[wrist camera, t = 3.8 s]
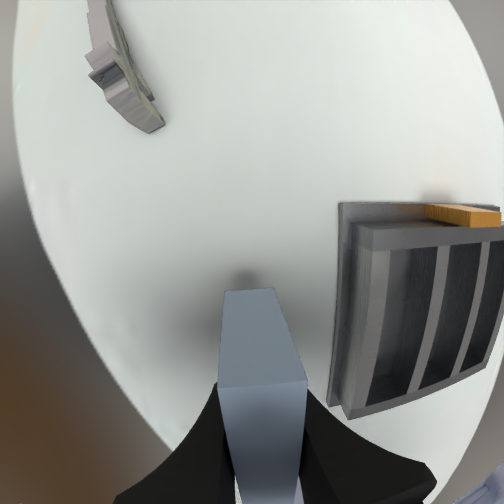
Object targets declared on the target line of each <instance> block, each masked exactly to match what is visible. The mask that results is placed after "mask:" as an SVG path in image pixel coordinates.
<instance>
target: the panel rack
mask: <svg viewBox="0 0 504 504" xmlns="http://www.w3.org/2000/svg"><path fill="white" fill-rule="evenodd" d="M503 315H504V221H501V212H500V207H497V206H485V205H466V204H440V203H339V266H338V291H337V308H336V322H335V335H334V345H333V355H332V364H331V373H330V381H329V388H328V395H327V404H328V407H333V406H338V405H341V407H342V409H343V411H344V413H345V415H346V417H347V419H348V420H352V419H356V418H360V417H363V416H367V415H371V414H374V413H378V412H381V411H384V410H387V409H391V408H394V407H397V406H400V405H403V404H405V403H408V402H411V401H414V400H416V399H419V398H422V397H424V396H427V395H429V394H432V393H434V392H436V391H439V390H441V389H443V388H446V387H448V386H450V385H452V384H455V383H457V382H459V381H461V380H463V379H465V378H467V377H469V376H471V375H473V374H475V373H477V372H479V371H480V370H482V369H484V368H486V365H487V363H488V360H489V357H490V355H491V352H492V349H493V347H494V344H495V341H496V338H497V335H498V332H499V328H500V325H501V322H502V318H503Z"/></svg>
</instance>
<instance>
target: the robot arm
mask: <svg viewBox="0 0 504 504" xmlns="http://www.w3.org/2000/svg"><path fill="white" fill-rule="evenodd" d="M217 383H218V382H216V383H215V384H214V387H213V390H212V392H211V394H210V397H209V399H208V401H207V403H206V405H205V407H204V409H203V410H202V412H201V414H200V416H199V418H198V419H197V421H196V422H195V424H194V425H193V427H192V428H191V430H190V431H189V433H188V434H187V436H186V437H185V438H184V440H183V441H182V442H181V443H180V444H179V446H178V447H177V448H176V449H175V450H174V451H173V452H172V454H171V455H170V456H169V457H168V458H167V459H166V460H165V461H164V462H163V463H162V464H161V465H159V466H158V467H157V468H156V469H155V470H154V471H152V472H151V473H150V474H149V475H147V476H146V477H145V478H144V479H142V480H141V481H140V482H138V483H137V484H135V485H133V486H132V487H131V488H129V489H127V490H125V491H124V492H122V493H120V494H119V495H117V496H116V498H115V500H114V502H113V504H236V501H235V472H234V468H233V463H232V459H231V455H230V450H229V446H228V441H227V436H226V431H225V427H224V422H223V417H222V411H221V406H220V401H219V396H218V390H217ZM436 484H437V480H436V479H435V477H434V475H433V474H432V472H431V471H430V469H429V468H428V467H427V466H426V465H425V463H423V462H419V461H415V460H412V459H408V458H405V457H402V456H399V455H397V454H394V453H392V452H389V451H387V450H385V449H383V448H381V447H379V446H377V445H375V444H373V443H371V442H369V441H367V440H366V439H364V438H363V437H361V436H359V435H358V434H356V433H355V432H353V431H352V430H351V429H349V428H348V427H347V426H345V425H344V424H343V423H342V422H340V421H339V420H338V419H337V418H336V417H335V416H333V415H332V414H331V413H330V412H329V411H328V410H327V409H326V408H325V407H324V406H323V405H322V404H321V403H320V402H319V401H318V400H317V399H316V398H315V397H314V395H313V394H312V393H311V392H310V391H309V390H308V388H307V399H306V411H305V422H304V432H303V441H302V450H301V458H300V466H299V473H298V480H297V487H296V493H295V500H294V504H424V503H423V502H422V501H423V500H424V499H425V498H426V497H427V496H428V495H429V494H430V493H431V491H432V490H433V489H434V488H435V486H436ZM451 504H504V462H503V463H502V464H500V465H499V466H498V467H497V468H496V469H495V470H494V471H493V472H491V473H490V475H489V476H488V477H487V478H486V479H485V481H483V482H482V483H481V484H479V485H478V486H477V487H475V488H474V489H472V490H471V491H470V492H468V493H467V494H465V495H464V496H462V497H461V498H459V499H458V500H456V501H454V502H453V503H451Z"/></svg>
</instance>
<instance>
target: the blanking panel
mask: <svg viewBox="0 0 504 504" xmlns="http://www.w3.org/2000/svg"><path fill="white" fill-rule="evenodd" d="M307 386H308V379H307V376H306V373H305V371H304V368H303V365H302V363H301V360H300V357H299V355H298V352H297V349H296V347H295V344H294V341H293V339H292V336H291V333H290V331H289V328H288V325H287V323H286V320H285V317H284V315H283V312H282V309H281V307H280V304H279V301H278V299H277V296H276V294H275V291H274V288H262V289H249V290H235V291H225V294H224V305H223V317H222V329H221V342H220V355H219V369H218V383H217V390H218V396H219V401H220V406H221V411H222V417H223V422H224V427H225V431H226V436H227V441H228V446H229V450H230V455H231V459H232V463H233V468H234V472H235V476H236V480H237V484H238V488H239V492H240V496H241V500H242V504H294V500H295V493H296V487H297V480H298V473H299V466H300V458H301V450H302V441H303V432H304V422H305V411H306V399H307Z"/></svg>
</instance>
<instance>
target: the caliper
mask: <svg viewBox="0 0 504 504" xmlns="http://www.w3.org/2000/svg"><path fill="white" fill-rule="evenodd" d="M88 7H89V13H87V18H88V24H89V31H90V36H91V42H92V47H93V50H92V51H91V52H89V53H88V54H86V55H85V58H86V59H87V61H88V62H89V64H90V65H91V67H92V68H93V70H94V71H92V72H91V73H90V74H89V75H88V76H89V77H90V78H91V79H92V80H93V81H94V82H95V83H96V84H97V85H98V86H99V87H100V88H101V89H102V90H103V92H104V95H105V99H106V101H107V102H108V103H109V104H110V105H111V106H112V107H113V108H114V109H115V110H116V111H117V112H118V113H119V114H120V115H121V116H122V117H123V118H124V119H126V120H127V121H128V122H129V123H130V124H132V125H134V126H135V127H137V128H139V129H140V130H142V131H144V132H146V133H150V132H152V131H153V130H155V129H157V128H159V127H161V126H163V125H165V123H164V120H163V118H162V117H161V115H160V114H159V113H158V111H157V110H156V109H155V108H154V106H153V105H152V104H151V101H153V100H154V97H153V94H152V92H151V90H150V89H149V87H148V86H147V84H146V82H145V81H144V79H143V78H142V76H141V75H140V73H139V71H138V70H137V68H136V67H135V65H134V63H133V62H132V60H131V58H130V56H129V53H128V52H129V51H128V45H127V42H126V40H125V38H124V33H123V30H122V29H121V27H120V26H119V24H118V23H117V20H116V17H115V14H114V11H113V7H112V4H111V1H110V0H88Z"/></svg>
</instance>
